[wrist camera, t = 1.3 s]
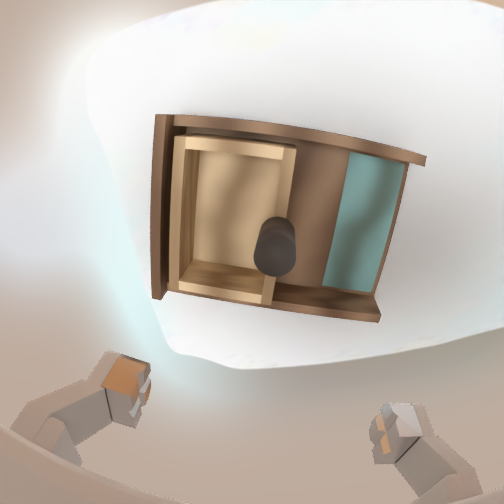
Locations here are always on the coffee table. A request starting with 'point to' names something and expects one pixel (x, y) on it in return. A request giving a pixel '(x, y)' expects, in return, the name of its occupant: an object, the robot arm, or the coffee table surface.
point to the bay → (304, 213)
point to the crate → (230, 216)
